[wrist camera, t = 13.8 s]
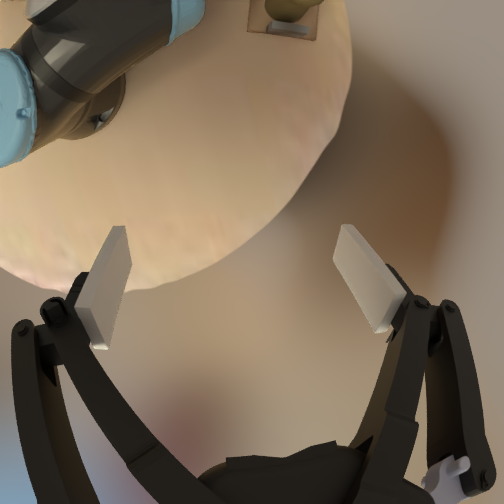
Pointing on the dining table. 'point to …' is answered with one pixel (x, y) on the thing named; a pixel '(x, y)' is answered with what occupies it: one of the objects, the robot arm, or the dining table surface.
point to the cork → (289, 9)
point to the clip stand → (266, 24)
